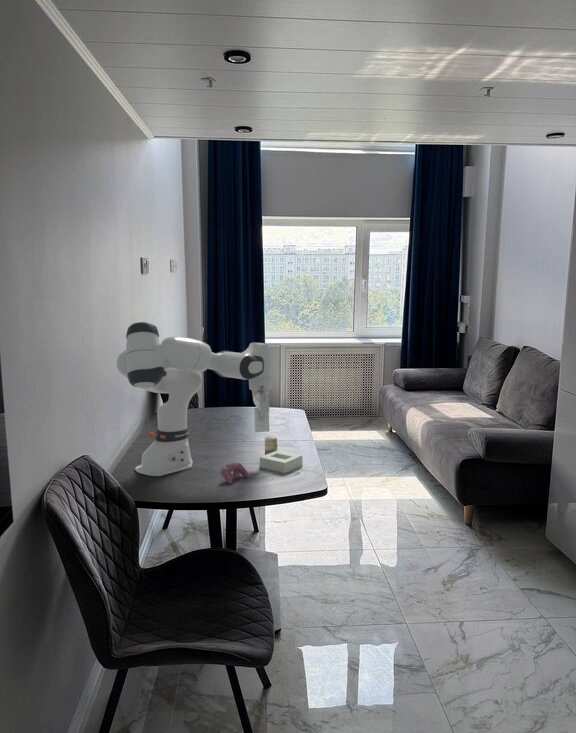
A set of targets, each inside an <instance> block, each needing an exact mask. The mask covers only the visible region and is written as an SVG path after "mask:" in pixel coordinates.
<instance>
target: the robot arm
mask: <svg viewBox="0 0 576 733" xmlns="http://www.w3.org/2000/svg"><path fill="white" fill-rule="evenodd" d="M159 333H160V332H159V330H158V327H157V326H156V325H155V324H153V323H151V322H147V321H146V322H145V321H140V322H135V323H132V324H131V325H129V326H128V327H127V330H126V334H125V338H126V343H125V350H123V351H122V352H121V353H120V354H119V355H118V357H117V359H116V368H117V371H119V373H120V374H121V375H122V376H123V377H125V378H127V380H128V382H129V384H130V386H133V387H135V388H137V389H138V388H139V389H142V390H144V391H147V392H151V393H156V394H168V400H167V401H166V402H164V403H162V405H160V406H159V407H158V409H157V413H156V414H157V429H156V432H154V431H150V432H149V438H154V441H153V442H151V444H150V445H149V446H148V447H147V448H146V450H145V451H144V452H143V453H142V455H141V461H140V462H141V464H139V465H137V466H136V467H135V472H136V473H139V474H142V475H144V476H145V475H146V476H148V477H149V476H150V477H151V476H152V477H162V476H165V475H169V474H173V473H177V472H181V471H184V470H188V469H192V468H193V463H194V462H193V459H192V455H191V450H190V444H189V439H188V438H189V436H190V435H189V433H190V432H189V427H188V407H189V403H190V402H191V400H192V398H193V396H194V395H195V394H196V393H198V392H199V390H200V389H201V388H202V385H203V375H202V373H203V372H205V371H206V370H211V371H212V372H214V373H215V374H216V375H218V376H220V377H222V378H233V379H238V380H244V381H245V380H248V386H249V387H248V389H249V390H251V394H252V401H253V404H254V405H255V408H257V409H258V410H259V412H260V421H265V413H269V414H270V397H269V393H270V390H272V389H273V374H272V366H273V364H272V363H273V362H272V360H273V359H272V351H271V348H270V347H271V346H270V345H269V344H268V343H264V342H255V341H254V342H249V345H248V347H247V348H246V349H245V350H244V351H242V352H235V351H230V350H222V351H219V352H216V353H215V352H212V349H211V346H210V345H209V344H208V343H206V342H204V341H202V340H199V339H195V338H191V337H184V336H168V337H166V338H164V339H163V340H162V341H161V343H160V339H159V338H160V334H159ZM201 372H202V373H201Z"/></svg>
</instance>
